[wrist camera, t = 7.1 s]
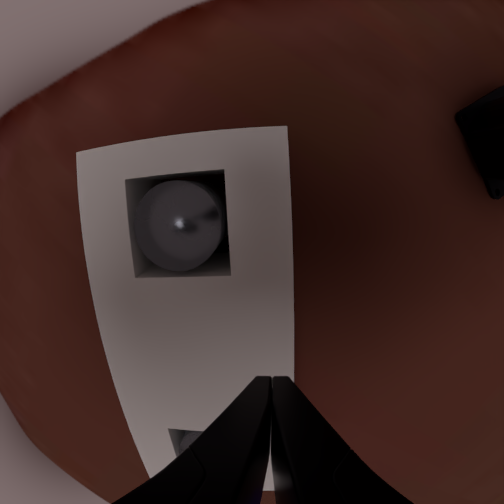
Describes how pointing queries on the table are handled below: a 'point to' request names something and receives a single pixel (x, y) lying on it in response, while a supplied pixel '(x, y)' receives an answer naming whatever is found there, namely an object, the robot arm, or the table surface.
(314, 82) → the table surface
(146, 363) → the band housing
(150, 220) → the near peg
